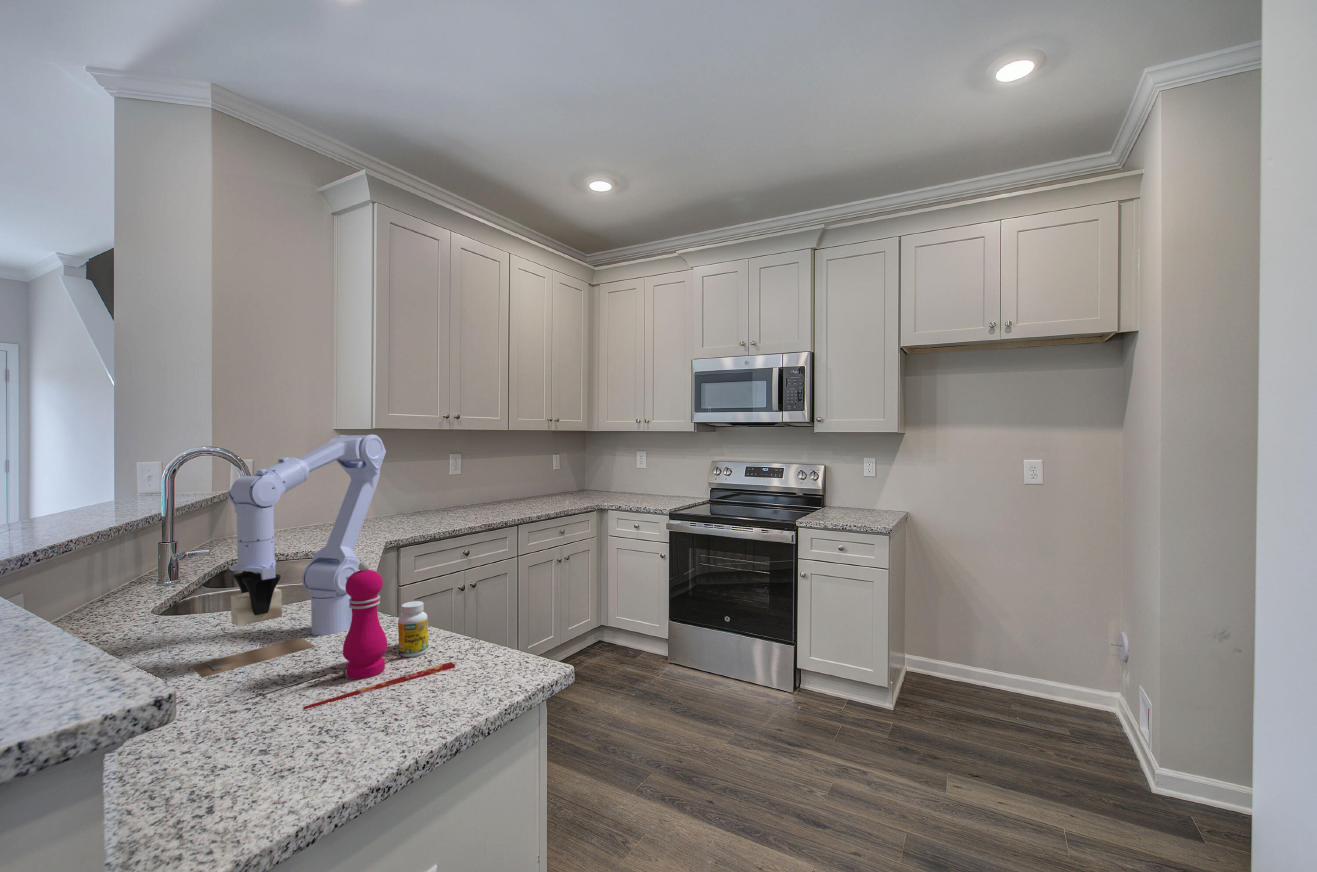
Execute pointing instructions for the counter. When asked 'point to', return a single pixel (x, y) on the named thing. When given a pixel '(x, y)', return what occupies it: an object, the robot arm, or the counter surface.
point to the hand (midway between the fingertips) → (257, 611)
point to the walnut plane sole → (251, 657)
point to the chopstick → (388, 683)
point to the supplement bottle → (413, 629)
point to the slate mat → (286, 687)
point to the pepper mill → (364, 625)
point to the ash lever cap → (244, 612)
